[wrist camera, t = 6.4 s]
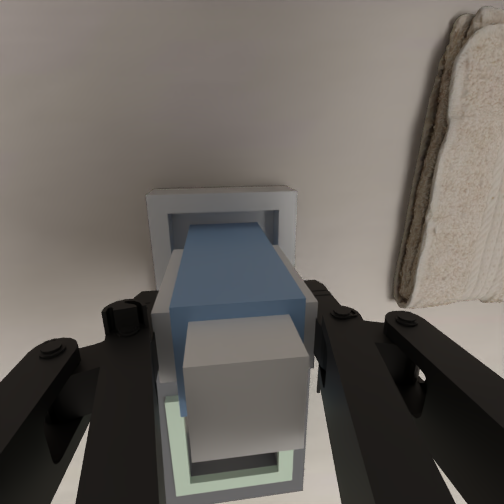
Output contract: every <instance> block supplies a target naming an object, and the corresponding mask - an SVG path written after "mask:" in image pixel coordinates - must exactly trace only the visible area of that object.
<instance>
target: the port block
mask: <svg viewBox="0 0 504 504" xmlns="http://www.w3.org/2000/svg"><path fill="white" fill-rule="evenodd" d="M156 382H157V390H158V402H159V415H160V428H161V441H162V454H163V467H164V481H165V494H166V504H215V503H222V502H228V501H235V500H242V499H249V498H256V497H263V496H270V495H276V494H283V493H290V492H297V491H303V477H304V461H305V446H306V430H307V414H308V398H309V382H310V369H308V384H307V400H306V417H305V433H304V448H303V449H295V450H288V451H280V452H272V453H264V454H256V455H249V456H241V457H233V458H225V459H218V460H210V461H202V462H194V463H192V458H191V448H190V438H189V427H188V417H181V416H180V406H179V397H178V387H177V382H167V383H160V381H159V373H158V375H157V380H156Z"/></svg>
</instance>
